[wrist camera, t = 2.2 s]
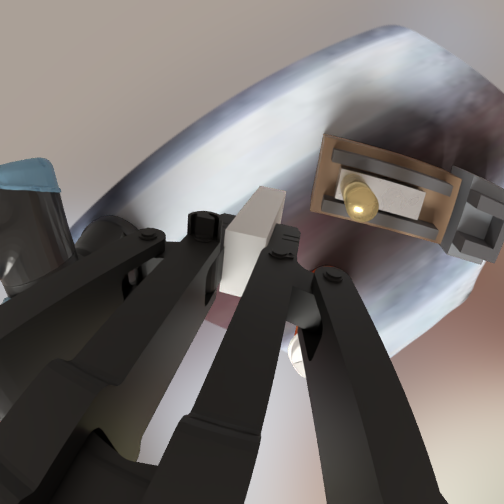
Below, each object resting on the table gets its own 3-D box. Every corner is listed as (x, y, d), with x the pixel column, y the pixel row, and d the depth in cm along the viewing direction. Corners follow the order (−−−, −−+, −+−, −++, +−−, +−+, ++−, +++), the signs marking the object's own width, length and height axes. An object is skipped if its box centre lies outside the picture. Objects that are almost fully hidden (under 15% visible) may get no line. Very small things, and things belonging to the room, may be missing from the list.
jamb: (431, 234, 34) (455, 265, 26) (452, 164, 29) (485, 180, 21) (463, 244, 33) (489, 275, 25) (485, 179, 28) (519, 197, 21)
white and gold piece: (333, 193, 28) (339, 219, 22) (340, 165, 27) (348, 182, 20) (412, 214, 27) (437, 245, 20) (420, 188, 26) (449, 212, 19)
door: (311, 195, 35) (309, 217, 28) (323, 133, 31) (325, 138, 24) (424, 225, 33) (446, 252, 26) (441, 168, 29) (470, 183, 22)
